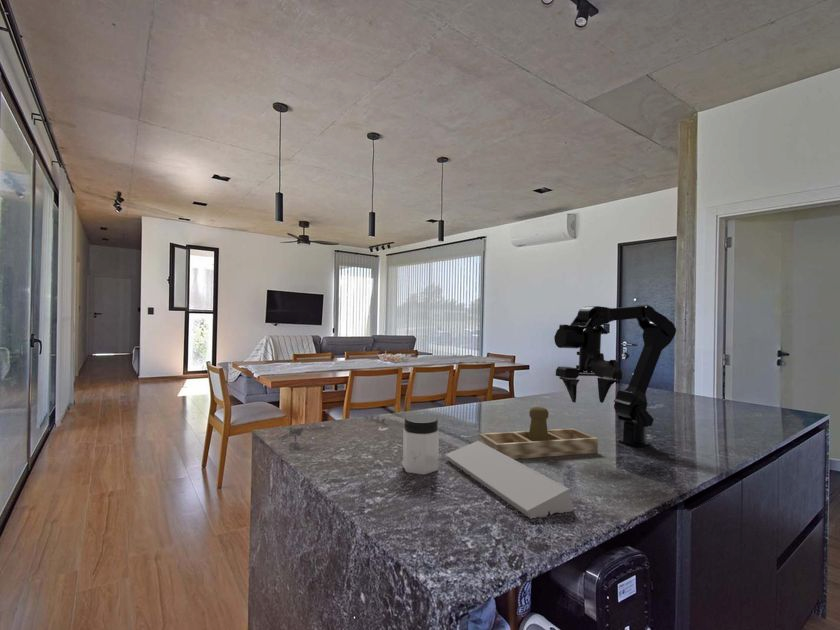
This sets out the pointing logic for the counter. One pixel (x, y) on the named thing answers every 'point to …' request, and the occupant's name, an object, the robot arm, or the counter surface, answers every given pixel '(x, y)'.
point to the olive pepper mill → (538, 424)
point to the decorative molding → (512, 480)
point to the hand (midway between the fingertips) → (587, 402)
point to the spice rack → (541, 443)
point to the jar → (420, 444)
